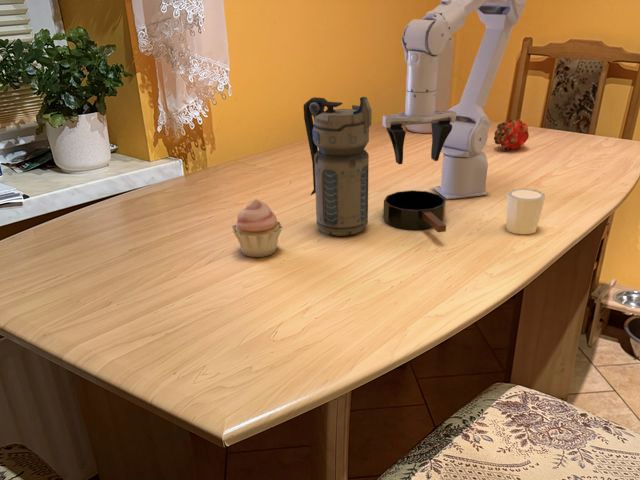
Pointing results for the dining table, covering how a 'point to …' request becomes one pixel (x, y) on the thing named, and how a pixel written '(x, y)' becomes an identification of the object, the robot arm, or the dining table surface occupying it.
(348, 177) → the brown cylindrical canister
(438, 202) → the skillet
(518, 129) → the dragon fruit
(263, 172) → the dining table surface
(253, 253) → the cupcake
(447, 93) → the cylinder vase
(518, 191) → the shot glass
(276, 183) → the dining table surface
